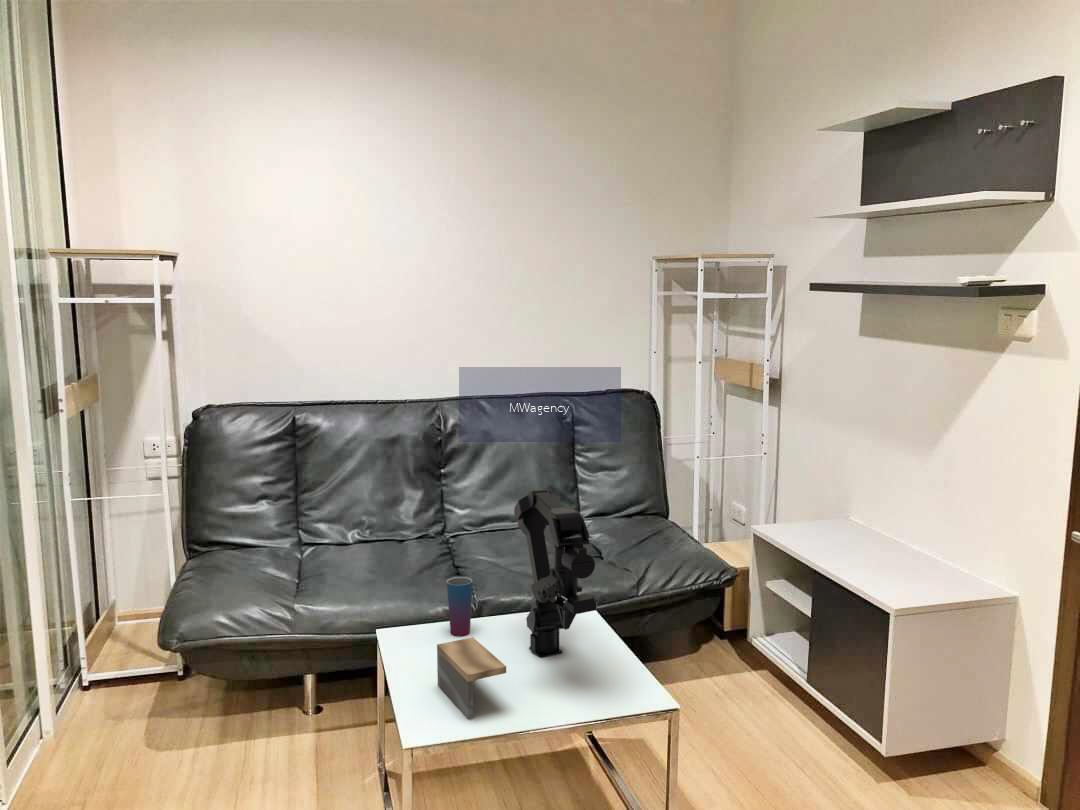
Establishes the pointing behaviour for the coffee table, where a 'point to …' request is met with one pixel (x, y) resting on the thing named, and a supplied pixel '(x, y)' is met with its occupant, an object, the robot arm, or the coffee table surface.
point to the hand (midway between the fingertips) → (566, 628)
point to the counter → (464, 670)
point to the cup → (459, 605)
